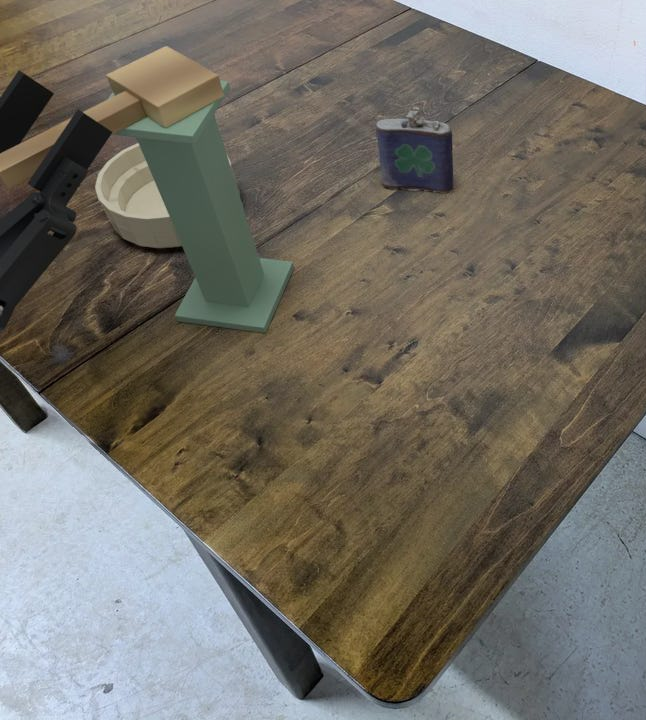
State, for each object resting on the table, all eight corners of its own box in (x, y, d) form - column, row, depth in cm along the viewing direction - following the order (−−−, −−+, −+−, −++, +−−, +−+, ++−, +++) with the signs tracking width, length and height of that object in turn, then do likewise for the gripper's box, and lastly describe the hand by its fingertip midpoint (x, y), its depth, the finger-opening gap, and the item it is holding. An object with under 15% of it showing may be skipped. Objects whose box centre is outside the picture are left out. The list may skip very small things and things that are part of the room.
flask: (380, 189, 92) (372, 115, 84) (384, 174, 94) (377, 100, 86) (452, 194, 92) (451, 121, 83) (455, 180, 94) (454, 106, 85)
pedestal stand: (177, 321, 78) (80, 123, 59) (211, 257, 84) (134, 57, 65) (265, 333, 78) (198, 136, 58) (294, 267, 84) (242, 69, 64)
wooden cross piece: (-22, 164, 55) (-37, 142, 54) (173, 66, 64) (166, 45, 62) (28, 204, 53) (14, 182, 51) (225, 96, 61) (218, 74, 60)
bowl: (91, 245, 85) (71, 209, 81) (146, 165, 94) (131, 129, 90) (214, 261, 84) (201, 225, 80) (258, 178, 93) (248, 142, 89)
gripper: (-116, 302, 62) (35, 81, 62) (11, 430, 54) (181, 177, 55) (-221, 273, 55) (-50, 24, 55) (-93, 415, 47) (104, 126, 48)
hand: (65, 101), depth 55 cm, fingers open, 7 cm apart
